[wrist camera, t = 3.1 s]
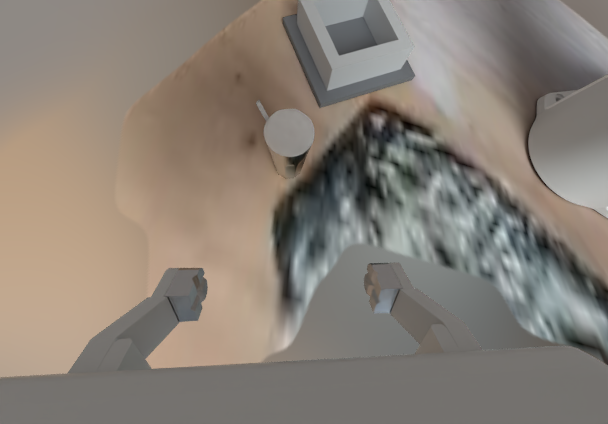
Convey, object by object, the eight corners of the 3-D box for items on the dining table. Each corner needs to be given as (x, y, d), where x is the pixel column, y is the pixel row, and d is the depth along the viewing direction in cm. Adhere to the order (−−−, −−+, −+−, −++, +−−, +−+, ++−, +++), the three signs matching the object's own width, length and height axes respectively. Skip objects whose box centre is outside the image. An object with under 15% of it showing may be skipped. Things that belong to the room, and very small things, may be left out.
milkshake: (276, 140, 29) (272, 81, 20) (313, 161, 29) (327, 112, 19) (257, 169, 28) (241, 122, 19) (294, 191, 28) (299, 155, 19)
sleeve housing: (371, 1, 35) (383, -34, 31) (412, 79, 33) (430, 53, 28) (282, 23, 33) (282, -12, 29) (319, 107, 31) (325, 83, 27)
